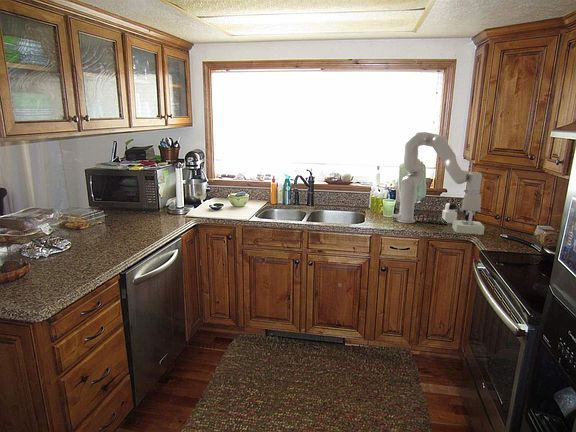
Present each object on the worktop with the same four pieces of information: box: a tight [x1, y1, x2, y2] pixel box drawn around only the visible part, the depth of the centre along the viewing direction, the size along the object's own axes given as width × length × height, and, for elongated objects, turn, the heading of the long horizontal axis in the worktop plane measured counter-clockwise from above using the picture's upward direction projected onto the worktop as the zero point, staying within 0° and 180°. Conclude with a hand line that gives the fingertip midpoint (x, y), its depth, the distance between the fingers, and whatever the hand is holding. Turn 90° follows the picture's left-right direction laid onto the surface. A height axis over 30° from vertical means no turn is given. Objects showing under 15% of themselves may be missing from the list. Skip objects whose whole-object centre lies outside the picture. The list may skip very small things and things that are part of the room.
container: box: [441, 202, 458, 224], centre depth 272 cm, size 8×8×13 cm
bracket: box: [465, 211, 473, 225], centre depth 251 cm, size 5×6×11 cm
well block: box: [451, 219, 486, 236], centre depth 252 cm, size 16×13×5 cm
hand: (469, 220), depth 251 cm, fingers closed on bracket
